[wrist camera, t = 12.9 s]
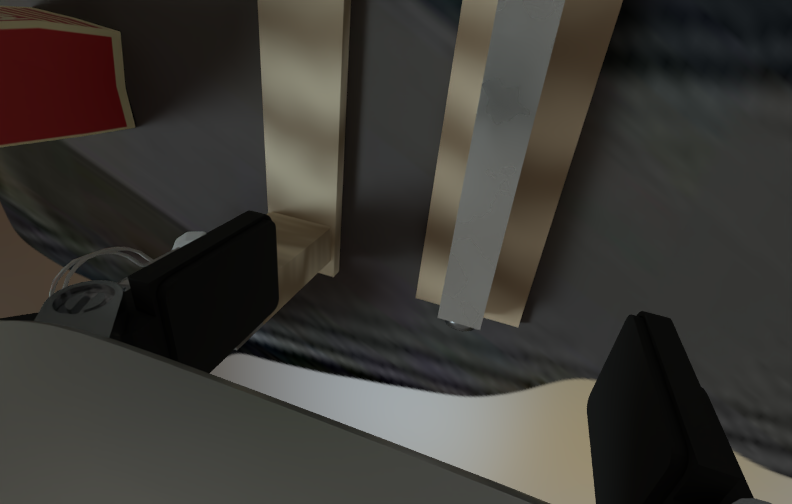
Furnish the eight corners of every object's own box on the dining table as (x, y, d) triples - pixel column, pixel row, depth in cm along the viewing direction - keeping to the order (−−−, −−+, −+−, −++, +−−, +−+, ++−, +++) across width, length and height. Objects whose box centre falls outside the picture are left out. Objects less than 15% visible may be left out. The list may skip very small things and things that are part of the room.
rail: (521, -83, 20) (517, -102, 17) (585, -81, 19) (590, -100, 17) (445, 304, 31) (435, 326, 29) (483, 314, 31) (477, 339, 28)
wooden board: (478, -87, 21) (476, -90, 20) (646, -79, 19) (649, -83, 19) (417, 293, 32) (415, 297, 32) (518, 322, 31) (518, 327, 30)
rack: (262, -97, 24) (37, -209, 14) (355, -92, 23) (182, -214, 12) (277, 253, 36) (161, 340, 25) (338, 271, 34) (243, 371, 24)
